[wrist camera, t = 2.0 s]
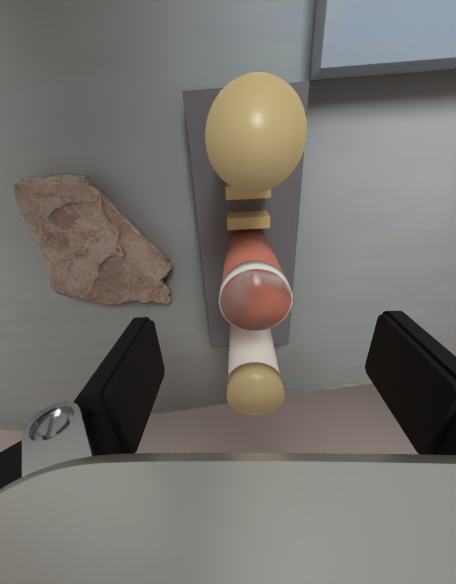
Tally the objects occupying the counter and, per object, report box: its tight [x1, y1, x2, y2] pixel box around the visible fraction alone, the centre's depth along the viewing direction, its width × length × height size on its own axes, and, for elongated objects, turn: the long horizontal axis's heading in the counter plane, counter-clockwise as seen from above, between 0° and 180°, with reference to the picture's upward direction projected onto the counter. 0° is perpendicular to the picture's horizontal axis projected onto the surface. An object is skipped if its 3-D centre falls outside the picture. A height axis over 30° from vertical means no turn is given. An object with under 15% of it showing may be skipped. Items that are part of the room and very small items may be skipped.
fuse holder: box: [183, 72, 309, 416], centre depth 17 cm, size 21×8×11 cm, turn 3°
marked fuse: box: [219, 229, 293, 331], centre depth 16 cm, size 4×4×9 cm
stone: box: [14, 174, 172, 305], centre depth 22 cm, size 12×12×3 cm
